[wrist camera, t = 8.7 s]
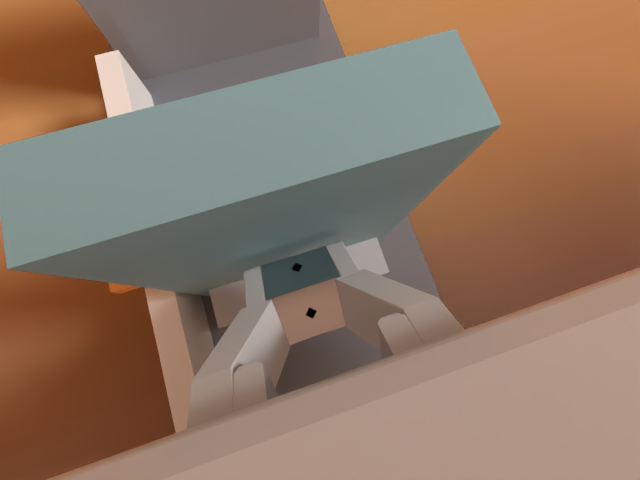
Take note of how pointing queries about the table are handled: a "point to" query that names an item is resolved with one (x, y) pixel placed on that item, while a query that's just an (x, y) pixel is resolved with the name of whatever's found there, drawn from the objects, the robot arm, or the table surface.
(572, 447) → the robot arm
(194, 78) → the bench
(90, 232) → the block
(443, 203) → the table surface
